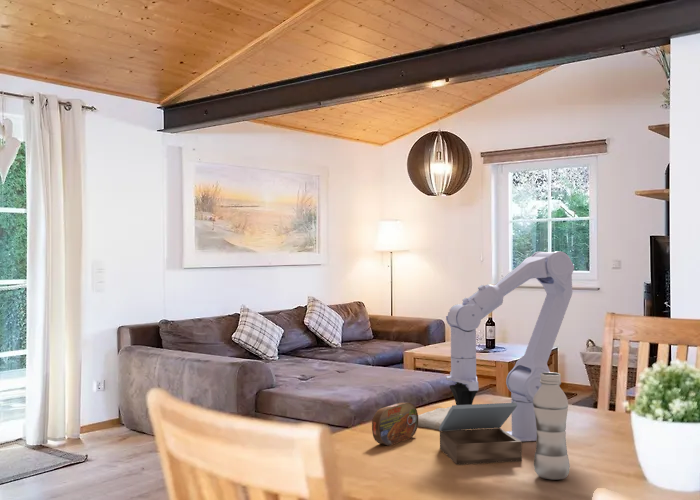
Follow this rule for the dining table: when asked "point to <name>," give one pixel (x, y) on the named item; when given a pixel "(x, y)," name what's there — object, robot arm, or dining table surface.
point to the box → (480, 446)
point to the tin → (395, 423)
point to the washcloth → (433, 418)
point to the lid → (477, 416)
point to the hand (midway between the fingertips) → (463, 416)
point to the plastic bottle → (551, 428)
